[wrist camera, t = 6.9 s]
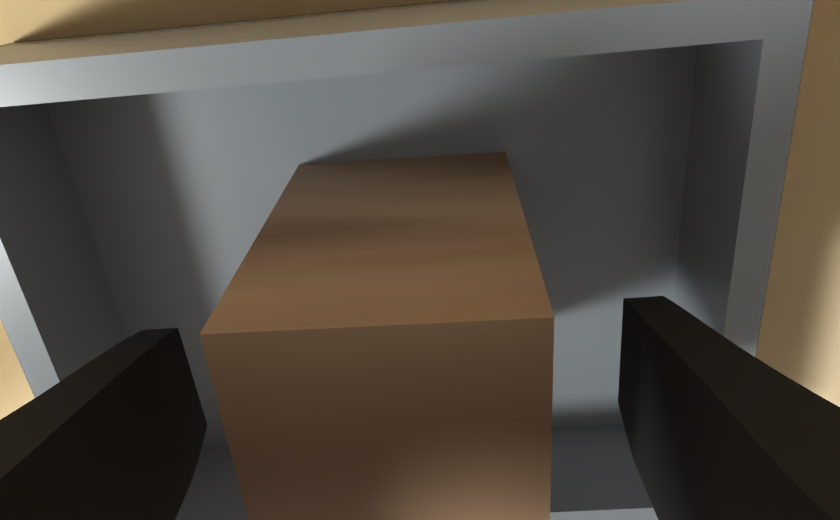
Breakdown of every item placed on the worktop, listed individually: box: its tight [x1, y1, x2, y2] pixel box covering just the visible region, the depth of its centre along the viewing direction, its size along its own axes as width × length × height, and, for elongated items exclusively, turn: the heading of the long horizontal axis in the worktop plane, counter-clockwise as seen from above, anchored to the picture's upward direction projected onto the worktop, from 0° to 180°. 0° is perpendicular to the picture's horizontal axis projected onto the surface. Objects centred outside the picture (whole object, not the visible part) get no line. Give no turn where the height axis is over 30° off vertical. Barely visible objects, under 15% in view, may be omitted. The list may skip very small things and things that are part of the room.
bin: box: [0, 0, 814, 520], centre depth 13 cm, size 10×13×3 cm
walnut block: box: [199, 152, 554, 520], centre depth 11 cm, size 4×4×6 cm
